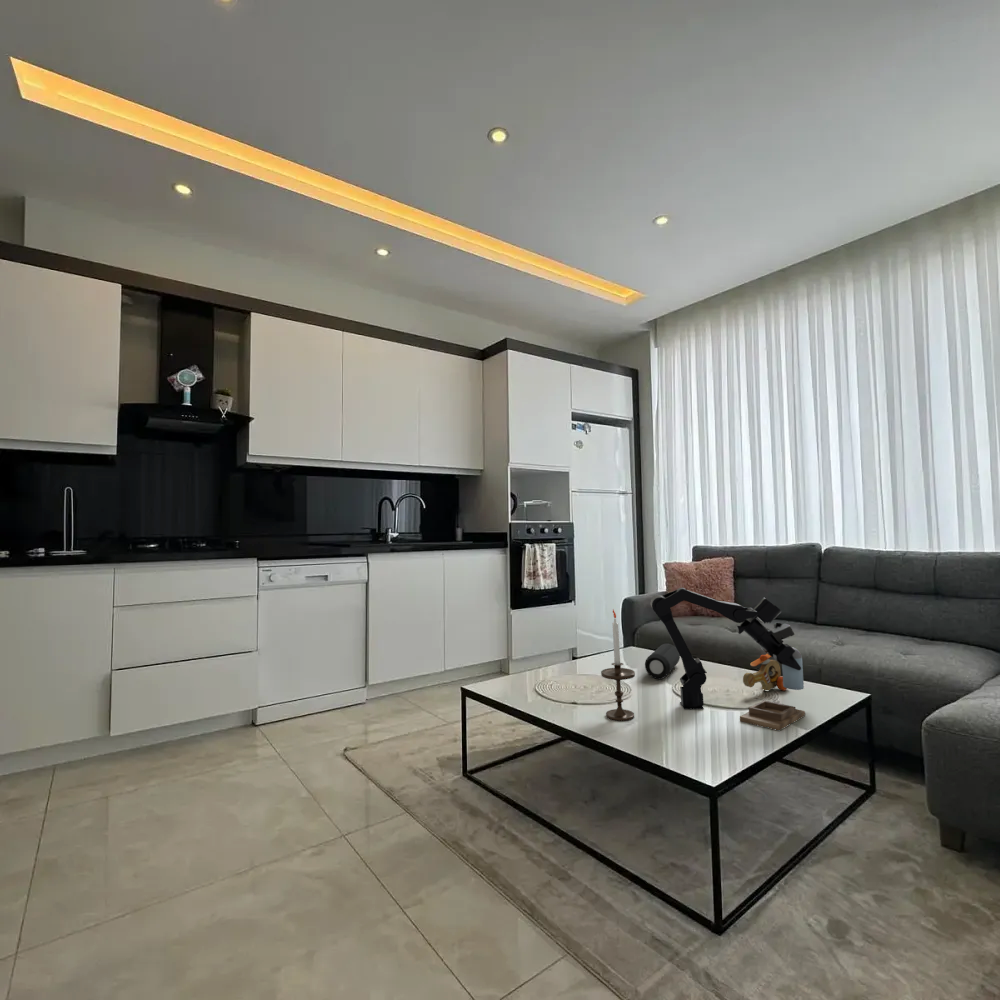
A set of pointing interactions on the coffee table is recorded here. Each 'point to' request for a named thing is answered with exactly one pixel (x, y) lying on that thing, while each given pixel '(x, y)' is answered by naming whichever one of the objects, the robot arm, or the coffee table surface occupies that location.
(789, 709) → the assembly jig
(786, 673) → the blue grey domed cylinder
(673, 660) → the portable speaker
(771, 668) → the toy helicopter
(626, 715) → the candlestick
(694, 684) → the robot arm
